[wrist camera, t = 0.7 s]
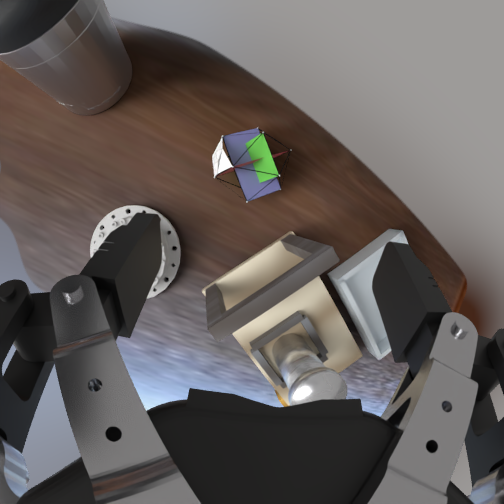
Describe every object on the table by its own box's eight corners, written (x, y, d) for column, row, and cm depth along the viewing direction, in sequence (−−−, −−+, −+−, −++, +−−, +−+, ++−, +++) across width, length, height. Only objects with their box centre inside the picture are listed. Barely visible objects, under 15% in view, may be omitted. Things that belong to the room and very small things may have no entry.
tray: (327, 274, 35) (337, 279, 32) (388, 228, 36) (402, 230, 33) (368, 351, 38) (379, 360, 35) (421, 307, 38) (433, 313, 36)
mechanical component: (187, 291, 33) (175, 199, 32) (185, 303, 29) (171, 198, 27) (102, 300, 32) (89, 212, 30) (90, 312, 27) (73, 213, 26)
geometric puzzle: (286, 119, 30) (253, 113, 23) (309, 180, 31) (283, 191, 24) (231, 143, 34) (188, 146, 27) (251, 199, 35) (214, 215, 28)
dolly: (198, 288, 33) (196, 336, 20) (286, 230, 34) (336, 243, 21) (285, 403, 37) (317, 471, 24) (358, 355, 38) (412, 406, 25)
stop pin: (258, 346, 32) (281, 396, 23) (297, 320, 33) (333, 362, 23) (281, 376, 33) (307, 429, 24) (317, 352, 34) (355, 398, 24)
